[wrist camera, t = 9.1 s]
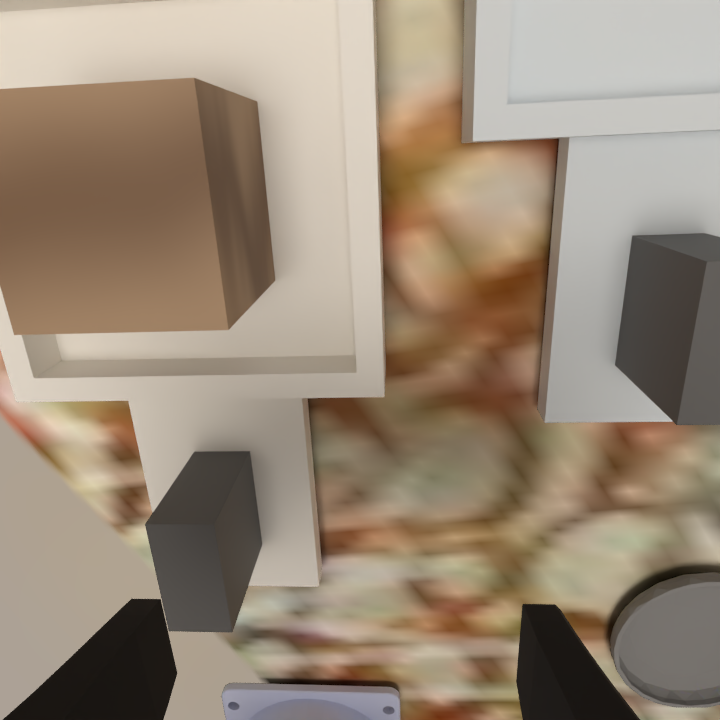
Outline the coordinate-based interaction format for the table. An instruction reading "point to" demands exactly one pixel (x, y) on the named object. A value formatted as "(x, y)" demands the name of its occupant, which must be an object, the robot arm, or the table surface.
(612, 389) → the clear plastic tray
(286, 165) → the white tray
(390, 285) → the table surface
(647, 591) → the pocket watch
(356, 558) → the table surface
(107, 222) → the walnut cube
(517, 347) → the table surface
